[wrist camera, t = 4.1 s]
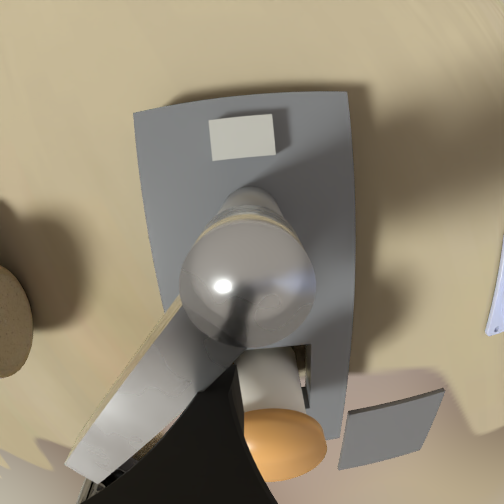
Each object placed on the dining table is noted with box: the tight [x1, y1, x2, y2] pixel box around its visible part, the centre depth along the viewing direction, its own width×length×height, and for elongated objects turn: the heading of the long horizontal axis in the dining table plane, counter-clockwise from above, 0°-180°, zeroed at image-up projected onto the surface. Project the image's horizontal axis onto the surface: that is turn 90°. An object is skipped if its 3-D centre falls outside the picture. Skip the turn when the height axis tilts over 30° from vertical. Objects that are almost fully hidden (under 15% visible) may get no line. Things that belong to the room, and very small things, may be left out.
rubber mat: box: [338, 388, 445, 470], centre depth 20 cm, size 8×8×1 cm
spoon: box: [64, 205, 316, 484], centre depth 8 cm, size 3×12×2 cm, turn 142°
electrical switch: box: [76, 457, 138, 504], centre depth 18 cm, size 9×5×9 cm, turn 55°
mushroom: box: [234, 346, 327, 482], centre depth 14 cm, size 5×5×7 cm
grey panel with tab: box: [133, 91, 356, 440], centre depth 13 cm, size 9×20×7 cm, turn 5°
